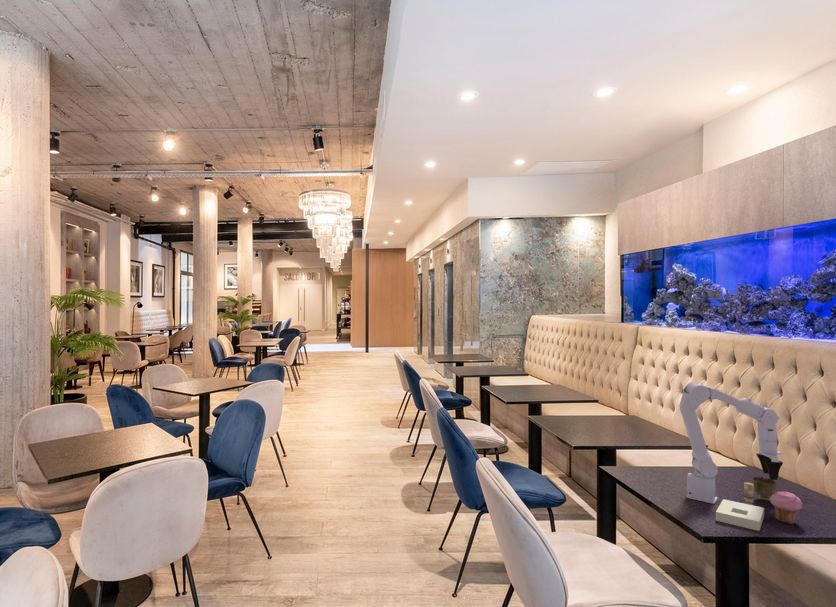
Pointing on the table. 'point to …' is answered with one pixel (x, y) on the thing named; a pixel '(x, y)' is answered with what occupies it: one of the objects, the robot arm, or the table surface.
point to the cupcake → (786, 506)
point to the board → (740, 514)
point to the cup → (764, 487)
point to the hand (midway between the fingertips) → (770, 476)
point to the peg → (748, 493)
